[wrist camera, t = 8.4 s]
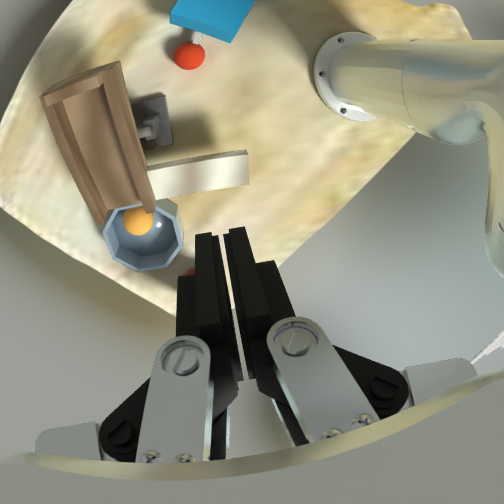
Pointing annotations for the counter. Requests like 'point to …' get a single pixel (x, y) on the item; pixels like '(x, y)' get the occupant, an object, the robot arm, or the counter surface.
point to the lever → (206, 25)
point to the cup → (146, 238)
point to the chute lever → (124, 148)
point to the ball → (137, 220)
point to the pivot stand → (153, 121)
